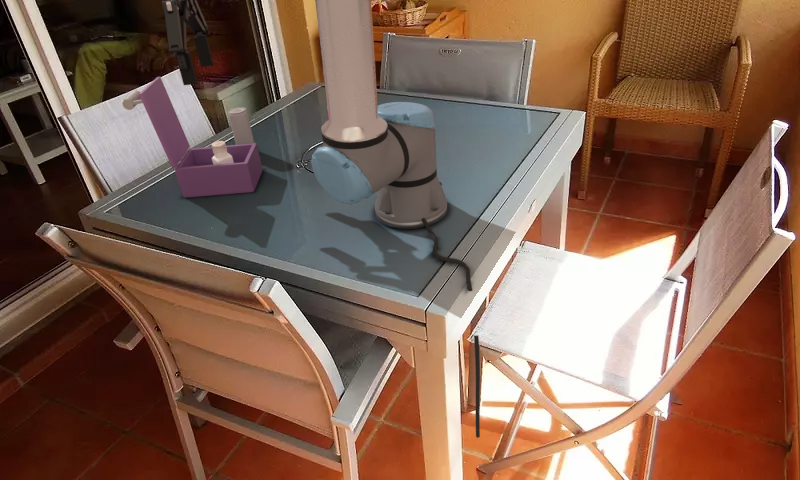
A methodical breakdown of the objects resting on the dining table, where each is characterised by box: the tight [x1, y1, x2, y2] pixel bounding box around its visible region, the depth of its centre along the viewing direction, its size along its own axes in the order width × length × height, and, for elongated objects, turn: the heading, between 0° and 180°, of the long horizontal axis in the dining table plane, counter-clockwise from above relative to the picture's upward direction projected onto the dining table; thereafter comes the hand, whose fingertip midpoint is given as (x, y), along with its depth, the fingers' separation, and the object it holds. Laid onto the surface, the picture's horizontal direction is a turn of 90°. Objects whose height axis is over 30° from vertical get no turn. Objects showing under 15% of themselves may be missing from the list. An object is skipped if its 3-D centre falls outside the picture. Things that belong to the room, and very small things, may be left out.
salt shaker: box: [211, 140, 234, 165], centre depth 138 cm, size 4×4×10 cm
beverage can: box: [227, 106, 255, 145], centre depth 153 cm, size 5×5×12 cm
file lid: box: [121, 76, 191, 169], centre depth 132 cm, size 18×12×7 cm
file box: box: [174, 142, 264, 198], centre depth 139 cm, size 17×12×7 cm
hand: (199, 74), depth 126 cm, fingers open, 13 cm apart
